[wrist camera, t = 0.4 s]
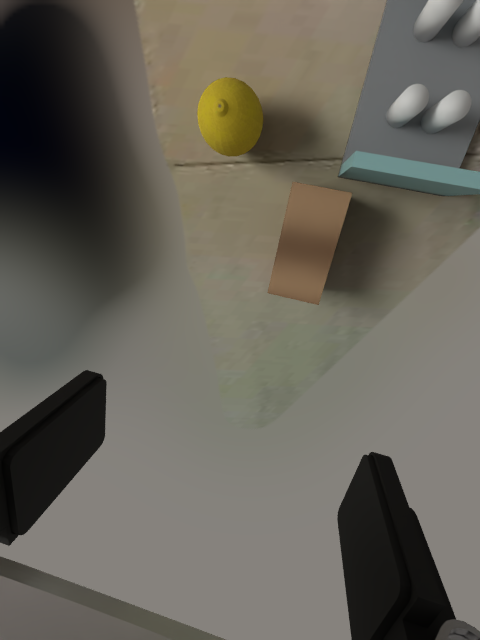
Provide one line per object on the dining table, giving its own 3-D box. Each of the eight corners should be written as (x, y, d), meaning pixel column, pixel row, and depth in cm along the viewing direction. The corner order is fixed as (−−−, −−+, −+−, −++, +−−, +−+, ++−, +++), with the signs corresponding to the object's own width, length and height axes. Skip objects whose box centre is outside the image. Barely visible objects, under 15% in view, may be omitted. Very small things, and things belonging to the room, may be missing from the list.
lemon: (279, 130, 29) (271, 105, 22) (238, 173, 31) (218, 164, 24) (241, 82, 28) (220, 39, 21) (202, 130, 30) (170, 106, 23)
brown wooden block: (294, 185, 31) (292, 181, 25) (343, 194, 30) (352, 193, 25) (273, 278, 35) (267, 293, 29) (315, 288, 34) (318, 304, 29)
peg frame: (405, -65, 23) (462, -216, 15) (545, -53, 22) (693, -208, 14) (337, 176, 30) (351, 166, 21) (443, 196, 28) (500, 192, 20)
